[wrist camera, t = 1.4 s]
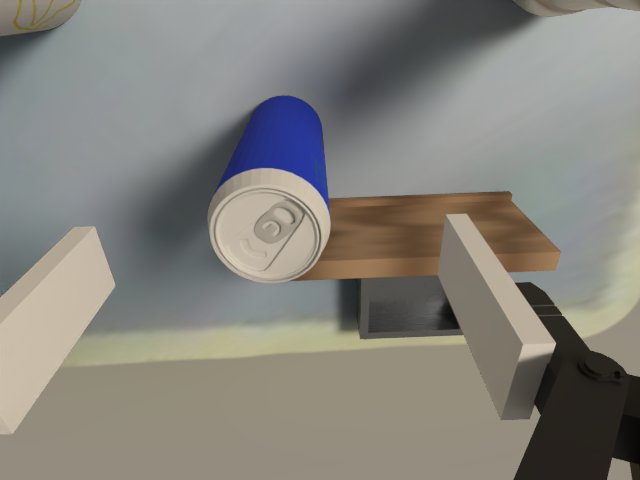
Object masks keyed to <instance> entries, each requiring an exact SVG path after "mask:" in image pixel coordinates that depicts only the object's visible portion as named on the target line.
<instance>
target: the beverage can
mask: <svg viewBox="0 0 640 480" xmlns="http://www.w3.org/2000/svg"><path fill="white" fill-rule="evenodd" d="M207 223H208V230H209V235H210V240H211V244H212V247H213V249H214V251H215V253H216V255H217V256H218V257H219V259H220V260H221V261H222V262H223V263H224V264H225V265H226V267H228V268H229V269H230V270H231V271H233V272H234V273H236V274H238V275H239V276H241V277H244V278H246V279H248V280H252V281H255V282H261V283H282V282H286V281H290V280H293V279H295V278H298V277H300V276H301V275H303V274H305V273H306V272H307V271H308V270H310V269H311V268H312V267H313V266H314V264H315V263H316V262H317V260H318V259H319V257H320V255H321V253H322V251H323V249H324V248H325V246H326V243H327V241H328V238H329V234H330V224H331V222H330V211H329V200H328V188H327V177H326V166H325V155H324V144H323V133H322V125H321V122H320V119H319V117H318V115H317V114H316V112H315V111H314V109H313V108H312V107H311V106H310V105H308V104H307V103H306V102H304V101H303V100H301V99H299V98H296V97H292V96H276V97H273V98H270V99H268V100H266V101H264V102H263V103H262V104H260V105H259V106H258V107H257V108H256V110H255V111H254V113H253V115H252V117H251V119H250V121H249V123H248V125H247V127H246V129H245V131H244V133H243V135H242V138H241V140H240V142H239V144H238V146H237V148H236V150H235V152H234V154H233V156H232V158H231V160H230V162H229V165H228V167H227V169H226V171H225V173H224V175H223V177H222V179H221V181H220V183H219V185H218V187H217V190H216V192H215V194H214V196H213V198H212V200H211V202H210V205H209V209H208V217H207Z"/></svg>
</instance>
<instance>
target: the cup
mask: <svg viewBox="0 0 640 480" xmlns="http://www.w3.org/2000/svg"><path fill="white" fill-rule="evenodd" d="M80 3H81V0H0V36H6V35H13V34H21V33H28V32H36V31H43V30H49V29H52V28H55V27H58V26H60V25H61V24H63V23H65V22H66V21H67V20H68V19H69V18H70V17H71V16H72V15H73V14H74V13H75V12H76V10H77V8H78V7H79V5H80Z"/></svg>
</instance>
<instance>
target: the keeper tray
mask: <svg viewBox="0 0 640 480" xmlns="http://www.w3.org/2000/svg"><path fill="white" fill-rule="evenodd" d="M357 321H358V328H359V335H360V339H376V338H401V337H426V336H451V335H463V332H462V330H461V328H460V325H459V323H458V321H457V319H456V316H455V314H454V312H453V309H452V307H451V305H450V302H449V300H448V298H447V296H446V293H445V291H444V289H443V286H442V284H441V282H440V279H439V277H438V275H426V276H400V277H375V278H358V306H357Z"/></svg>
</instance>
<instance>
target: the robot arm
mask: <svg viewBox="0 0 640 480" xmlns="http://www.w3.org/2000/svg"><path fill="white" fill-rule="evenodd" d="M438 277H439V279H440V282H441V284H442V286H443V289H444V291H445V293H446V296H447V298H448V300H449V302H450V305H451V307H452V309H453V312H454V314H455V316H456V319H457V321H458V323H459V325H460V328H461V330H462V332H463V335H464V337H465V339H466V341H467V344H468V346H469V348H470V351H471V353H472V355H473V358H474V360H475V362H476V364H477V367H478V369H479V371H480V374H481V375H482V378H483V380H484V383H485V385H486V387H487V390H488V392H489V394H490V396H491V399H492V401H493V403H494V406H495V408H496V410H497V413H498V415H499V417H500V419H501V420H513V419H514V420H515V419H530V416H531V414H532V411H533V408H534V405H536V407H537V409H538V411H539V413H540V415H541V416H540V418H539V421H538V423H537V426H536V428H535V430H534V433H533V435H532V437H531V440H530V442H529V444H528V447H527V449H526V452H525V454H524V456H523V458H522V461H521V463H520V466H519V468H518V470H517V473H516V475H515V478H514V480H607V476H608V472H609V468H610V464H611V460H612V458H616V459H620V460H624V461H628V462H630V467H631V473H632V480H640V377H637V376H633V375H629V374H627V373H626V372H625V370H624V369H623V367H621V366H620V365H619V364H618V363H617V362H615V361H614V360H613V359H611V358H609V357H607V356H605V355H603V354H601V353H597V352H594V351H590V349H589V348H588V347H587V346H586V344H585V343H584V342H583V340H582V339H581V338H580V337H579V335H578V334H577V333H576V331H575V330H574V329H573V327H572V326H571V325H570V324H569V322H568V321H567V320H566V318H565V317H564V316H562V313H561V312H560V311H559V309H558V308H557V307H556V306H554V303H553V302H552V300H551V299H550V298H549V296H548V295H547V294H546V293H545V292H544V291H543V290H541V289H540V288H538V287H537V286H535V285H534V284H532V283H531V282H523V283H514V282H513V280H512V279H511V277H510V276H509V274H508V273H507V271H506V270H505V269H504V267H503V266H502V264H501V263H500V261H499V260H498V258H497V257H496V256H495V254H494V253H493V251H492V250H491V248H490V247H489V245H488V244H487V243H486V241H485V240H484V238H483V237H482V235H481V234H480V232H479V231H478V230H477V228H476V227H475V225H474V224H473V222H472V221H471V219H470V218H469V217H468V215H467V214H446V216H445V224H444V231H443V239H442V246H441V253H440V261H439V268H438ZM115 286H116V285H115V282H114V280H113V277H112V274H111V271H110V268H109V266H108V263H107V260H106V257H105V254H104V252H103V249H102V246H101V243H100V240H99V237H98V235H97V232H96V229H95V226H91V227H74V228H73V229H72V230H71V231H70V232H69V233H67V234H66V235H65V236H64V237H63V238H62V239H61V240H60V241H59V242H58V243H57V244H56V245H55V246H54V247H53V248H52V249H51V250H50V251H49V252H48V253H47V254H45V255H44V256H43V257H42V258H41V259H40V260H39V261H38V262H37V263H36V264H35V265H34V266H33V267H32V268H31V269H30V270H29V271H28V272H27V273H26V274H25V275H23V276H22V277H21V278H20V279H19V280H18V281H17V282H16V283H15V284H14V285H13V286H12V287H11V288H10V289H9V290H8V291H7V292H6V293H5V294H4V295H2V296H1V297H0V434H13V433H14V431H15V430H16V428H17V427H18V426H19V424H20V423H21V421H22V420H23V418H24V417H25V415H26V414H27V413H28V411H29V410H30V408H31V407H32V405H33V404H34V402H35V401H36V400H37V398H38V397H39V395H40V394H41V392H42V391H43V390H44V388H45V387H46V385H47V384H48V382H49V381H50V380H51V378H52V376H53V375H54V373H55V372H56V371H57V369H58V368H59V367H60V365H61V364H62V362H63V361H64V359H65V358H66V356H67V355H68V354H69V352H70V351H71V349H72V348H73V346H74V345H75V343H76V342H77V341H78V339H79V338H80V336H81V335H82V333H83V332H84V330H85V329H86V328H87V326H88V325H89V323H90V322H91V320H92V319H93V317H94V316H95V315H96V313H97V312H98V310H99V309H100V307H101V306H102V304H103V303H104V302H105V300H106V299H107V297H108V296H109V294H110V293H111V291H112V290H113V289H114V287H115Z"/></svg>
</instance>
